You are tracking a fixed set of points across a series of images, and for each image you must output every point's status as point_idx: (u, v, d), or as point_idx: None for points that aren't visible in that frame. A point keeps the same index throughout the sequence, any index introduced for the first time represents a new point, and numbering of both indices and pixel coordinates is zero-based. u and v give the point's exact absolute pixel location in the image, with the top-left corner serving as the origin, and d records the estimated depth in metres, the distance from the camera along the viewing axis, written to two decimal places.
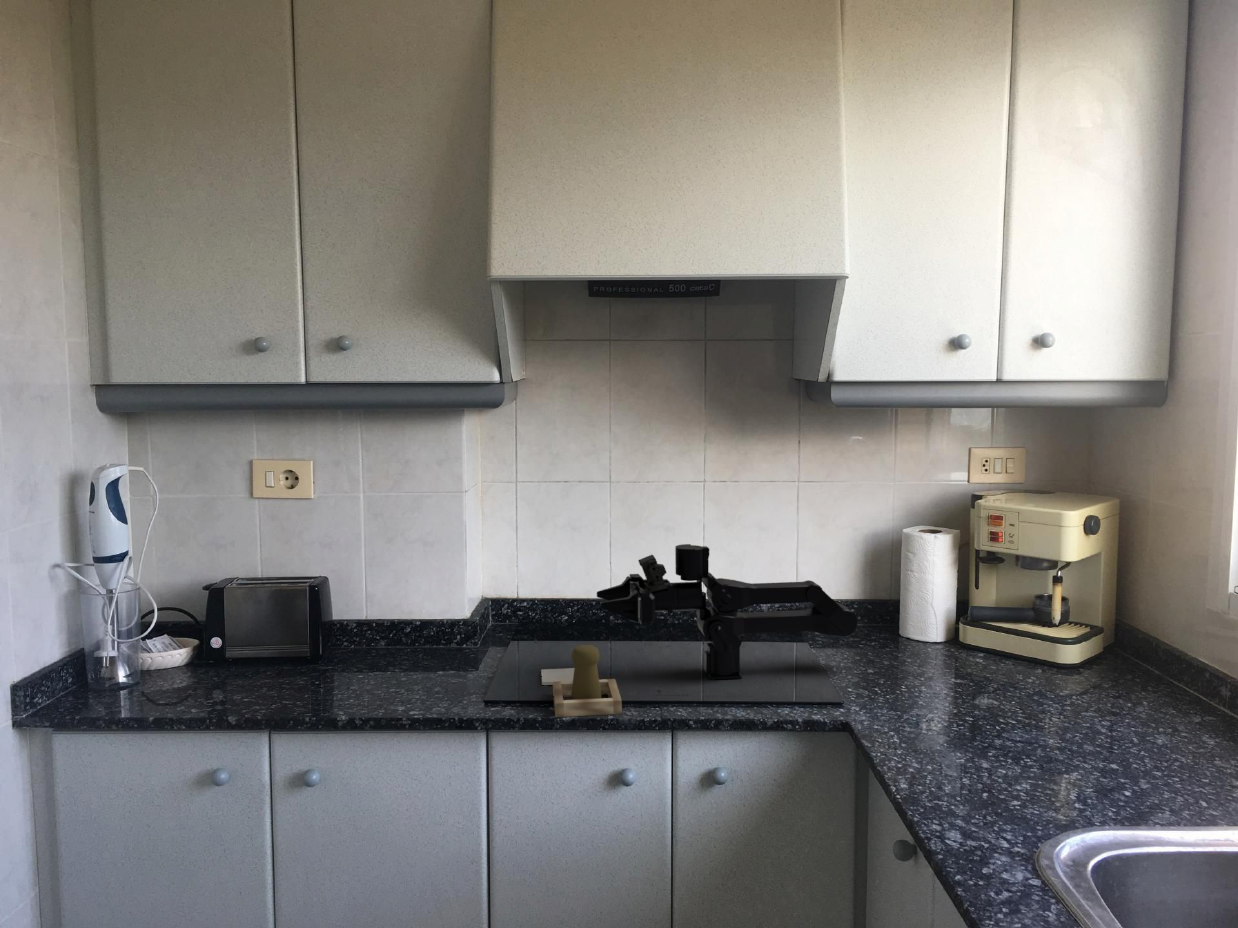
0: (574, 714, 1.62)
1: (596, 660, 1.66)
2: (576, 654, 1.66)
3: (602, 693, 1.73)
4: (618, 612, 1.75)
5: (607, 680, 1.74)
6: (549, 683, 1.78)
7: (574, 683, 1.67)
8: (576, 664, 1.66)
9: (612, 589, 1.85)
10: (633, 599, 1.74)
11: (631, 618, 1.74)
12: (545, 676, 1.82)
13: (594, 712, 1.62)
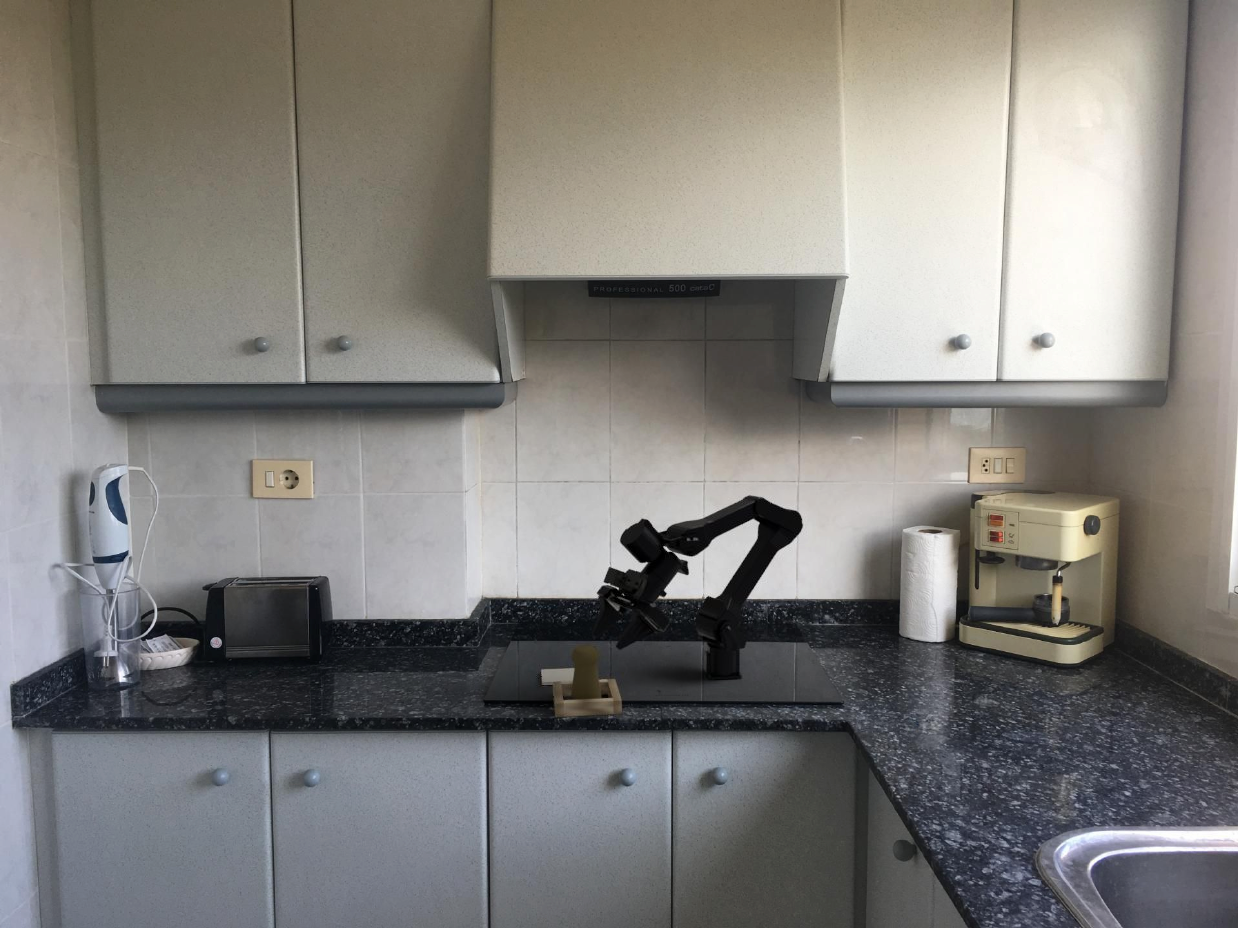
0: (574, 714, 1.62)
1: (596, 660, 1.66)
2: (576, 654, 1.66)
3: (602, 693, 1.73)
4: (636, 639, 1.66)
5: (607, 680, 1.74)
6: (549, 683, 1.78)
7: (574, 683, 1.67)
8: (576, 664, 1.66)
9: (600, 620, 1.74)
10: (639, 619, 1.65)
11: (649, 633, 1.66)
12: (545, 676, 1.82)
13: (594, 712, 1.62)
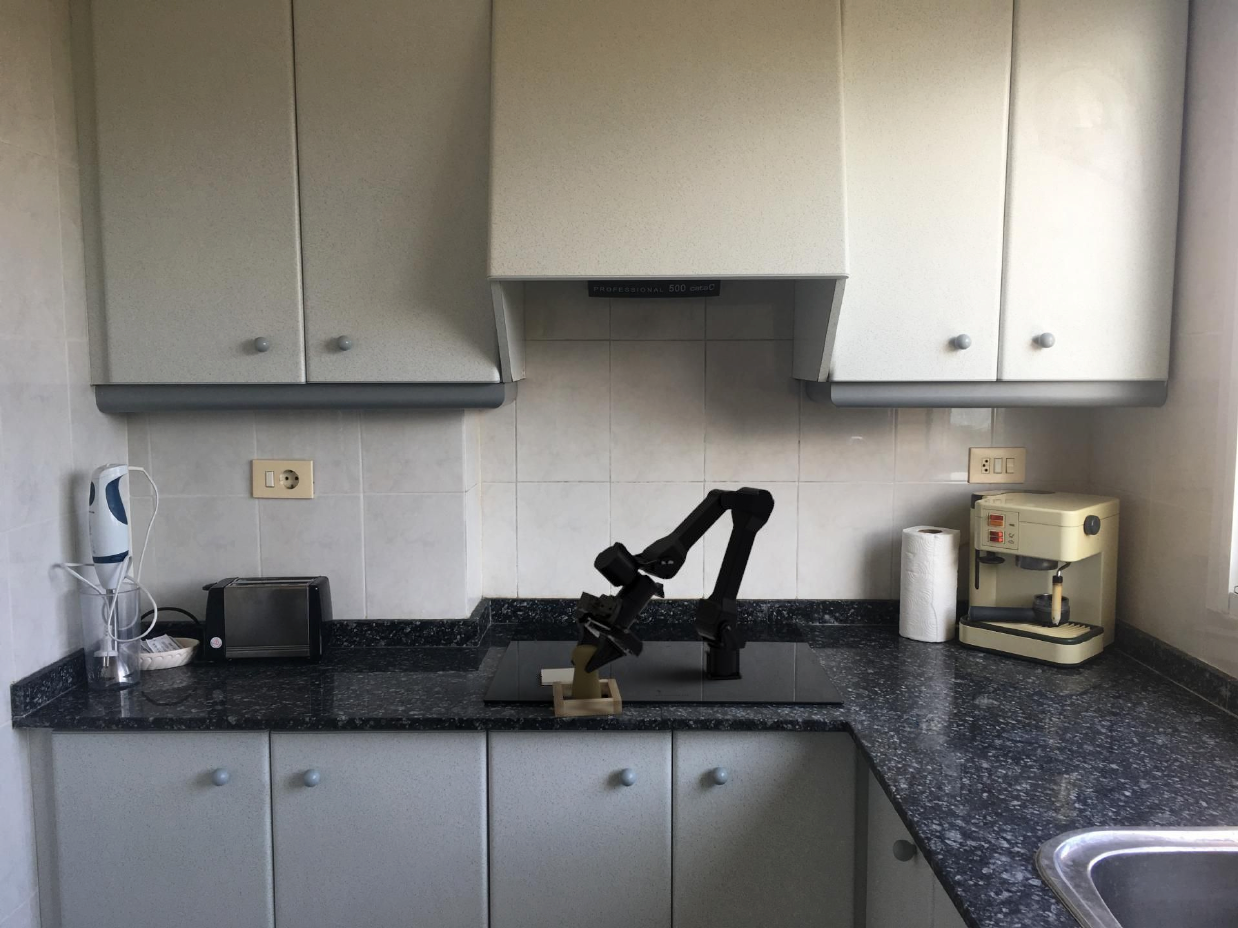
0: (574, 714, 1.62)
1: None
2: (576, 654, 1.66)
3: (602, 693, 1.73)
4: (604, 662, 1.65)
5: (607, 680, 1.74)
6: (549, 683, 1.78)
7: (574, 683, 1.67)
8: (576, 664, 1.66)
9: None
10: (607, 643, 1.64)
11: (618, 656, 1.66)
12: (545, 676, 1.82)
13: (594, 712, 1.62)
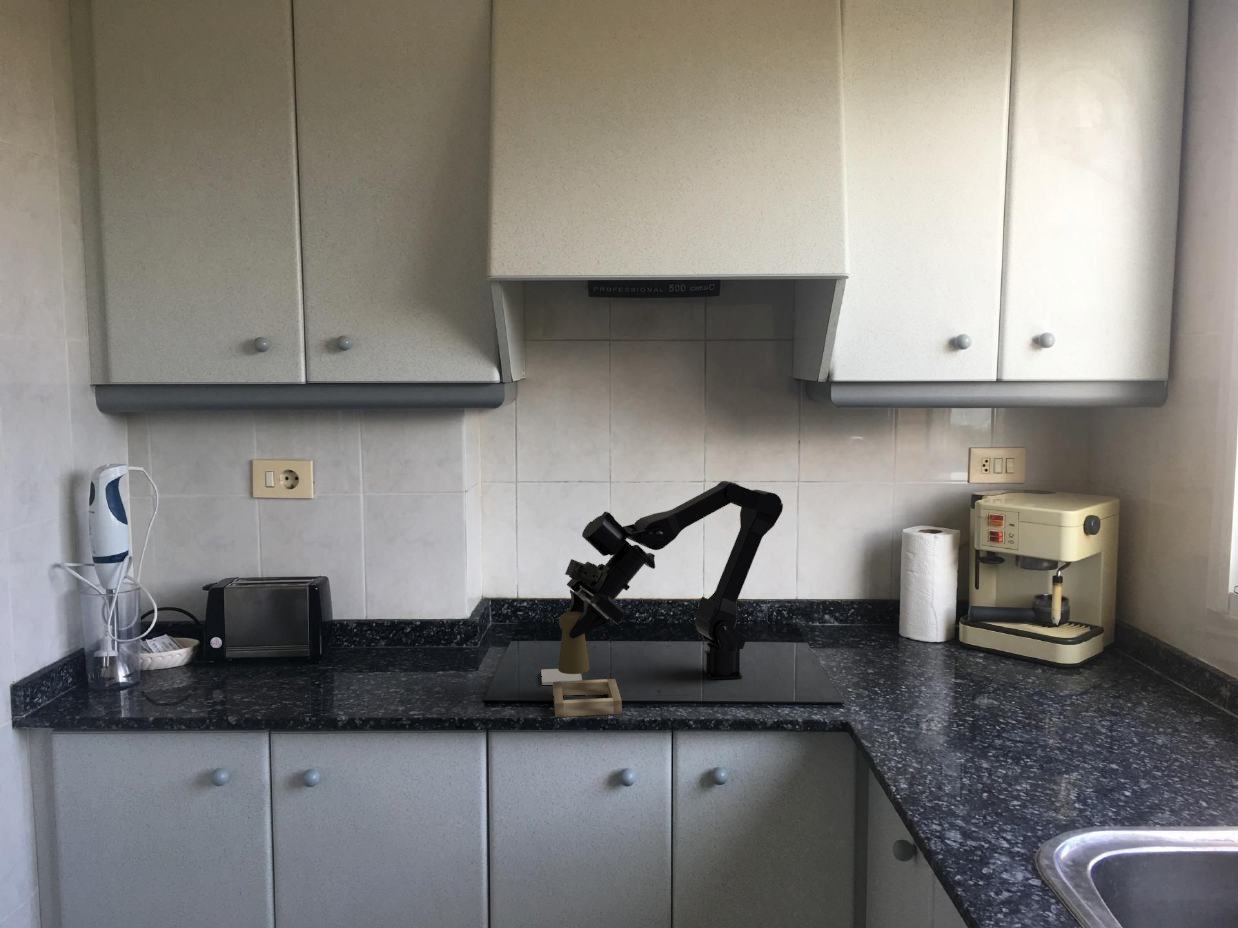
0: (574, 714, 1.62)
1: None
2: (562, 620, 1.70)
3: (602, 693, 1.73)
4: (588, 629, 1.69)
5: (607, 680, 1.74)
6: (549, 683, 1.78)
7: (561, 648, 1.71)
8: (562, 629, 1.71)
9: None
10: (590, 609, 1.68)
11: (602, 623, 1.69)
12: (545, 676, 1.82)
13: (594, 712, 1.62)
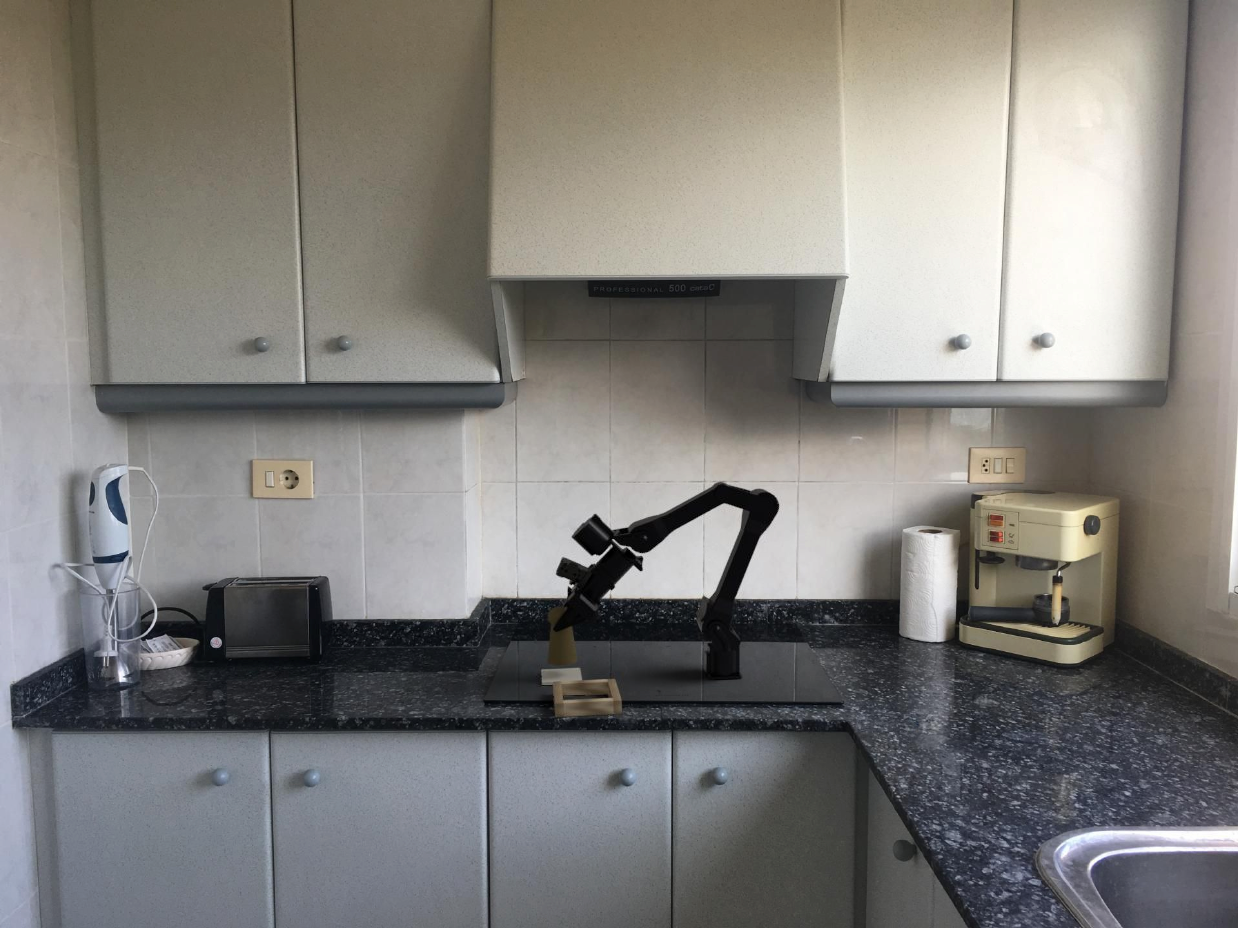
0: (574, 714, 1.62)
1: None
2: (549, 613, 1.81)
3: (602, 693, 1.73)
4: (570, 624, 1.78)
5: (607, 680, 1.74)
6: (549, 683, 1.78)
7: None
8: None
9: None
10: (570, 606, 1.77)
11: (582, 620, 1.77)
12: (545, 676, 1.82)
13: (594, 712, 1.62)
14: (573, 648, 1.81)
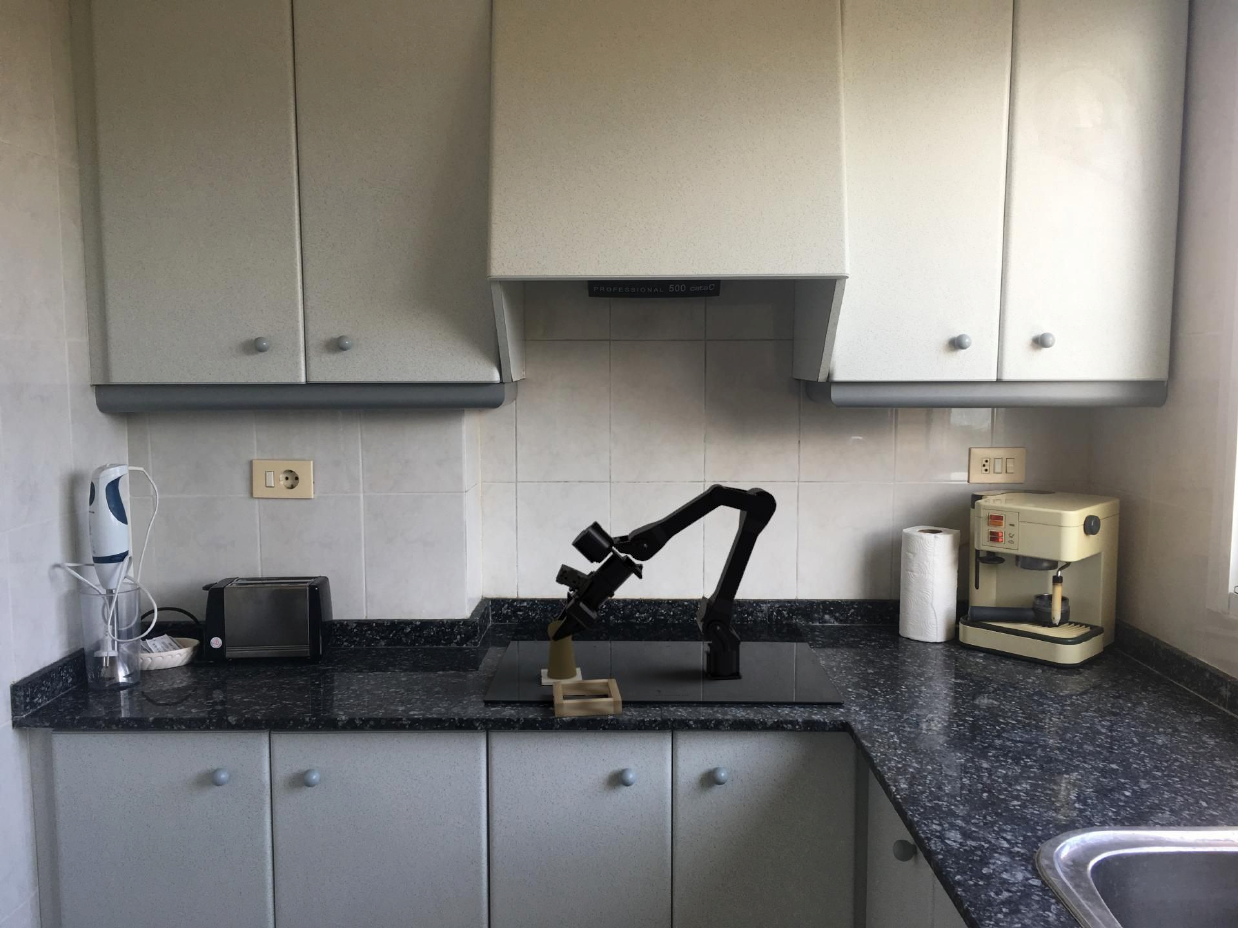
0: (574, 714, 1.62)
1: None
2: (548, 627, 1.81)
3: (602, 693, 1.73)
4: (569, 633, 1.76)
5: (607, 680, 1.74)
6: (549, 683, 1.78)
7: (549, 654, 1.82)
8: (550, 636, 1.81)
9: (562, 613, 1.86)
10: (569, 615, 1.75)
11: (581, 629, 1.76)
12: (545, 676, 1.82)
13: (594, 712, 1.62)
14: (573, 662, 1.81)
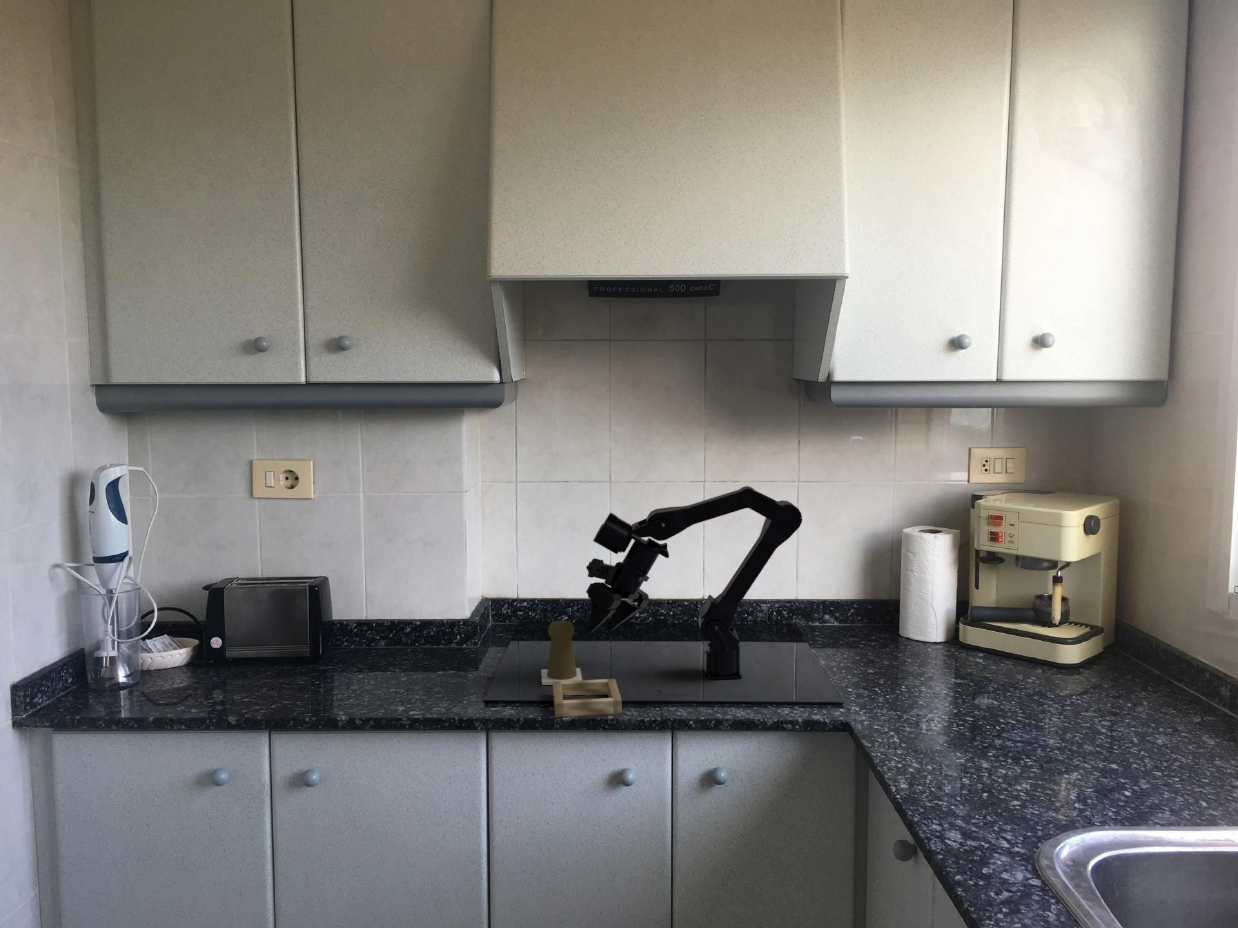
0: (574, 714, 1.62)
1: (566, 635, 1.80)
2: (549, 627, 1.81)
3: (602, 693, 1.73)
4: (599, 620, 1.78)
5: (607, 680, 1.74)
6: (549, 683, 1.78)
7: (549, 654, 1.82)
8: (550, 636, 1.81)
9: (613, 614, 1.89)
10: (594, 601, 1.78)
11: (607, 613, 1.77)
12: (545, 676, 1.82)
13: (594, 712, 1.62)
14: (573, 662, 1.81)
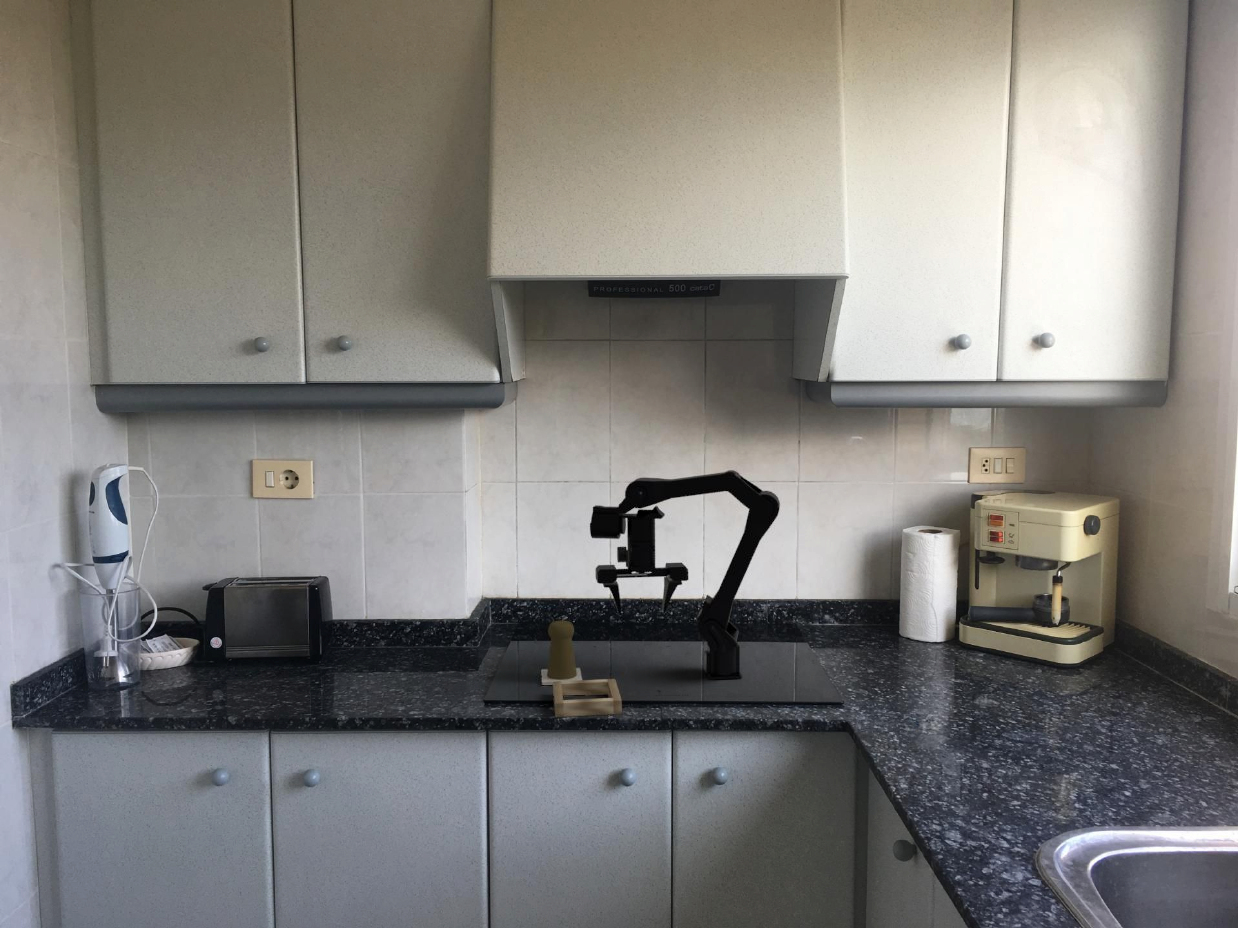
0: (574, 714, 1.62)
1: (565, 635, 1.80)
2: (549, 627, 1.81)
3: (602, 693, 1.73)
4: (614, 600, 1.84)
5: (607, 680, 1.74)
6: (549, 683, 1.78)
7: (549, 654, 1.82)
8: (550, 636, 1.81)
9: (663, 596, 1.88)
10: None
11: None
12: (545, 676, 1.82)
13: (594, 712, 1.62)
14: (573, 662, 1.81)
